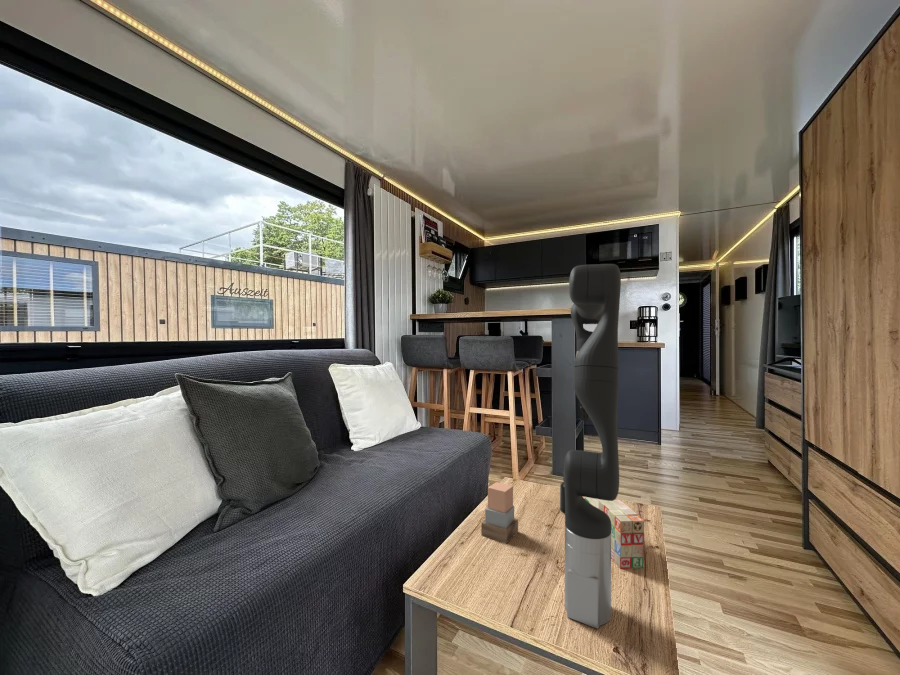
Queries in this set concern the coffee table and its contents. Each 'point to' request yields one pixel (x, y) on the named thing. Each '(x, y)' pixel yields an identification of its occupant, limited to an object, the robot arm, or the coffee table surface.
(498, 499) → the terracotta block
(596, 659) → the coffee table surface
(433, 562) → the coffee table surface
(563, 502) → the supplement bottle
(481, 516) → the coffee table surface
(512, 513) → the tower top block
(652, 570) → the coffee table surface
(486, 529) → the tower base block
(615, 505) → the stack of blocks
